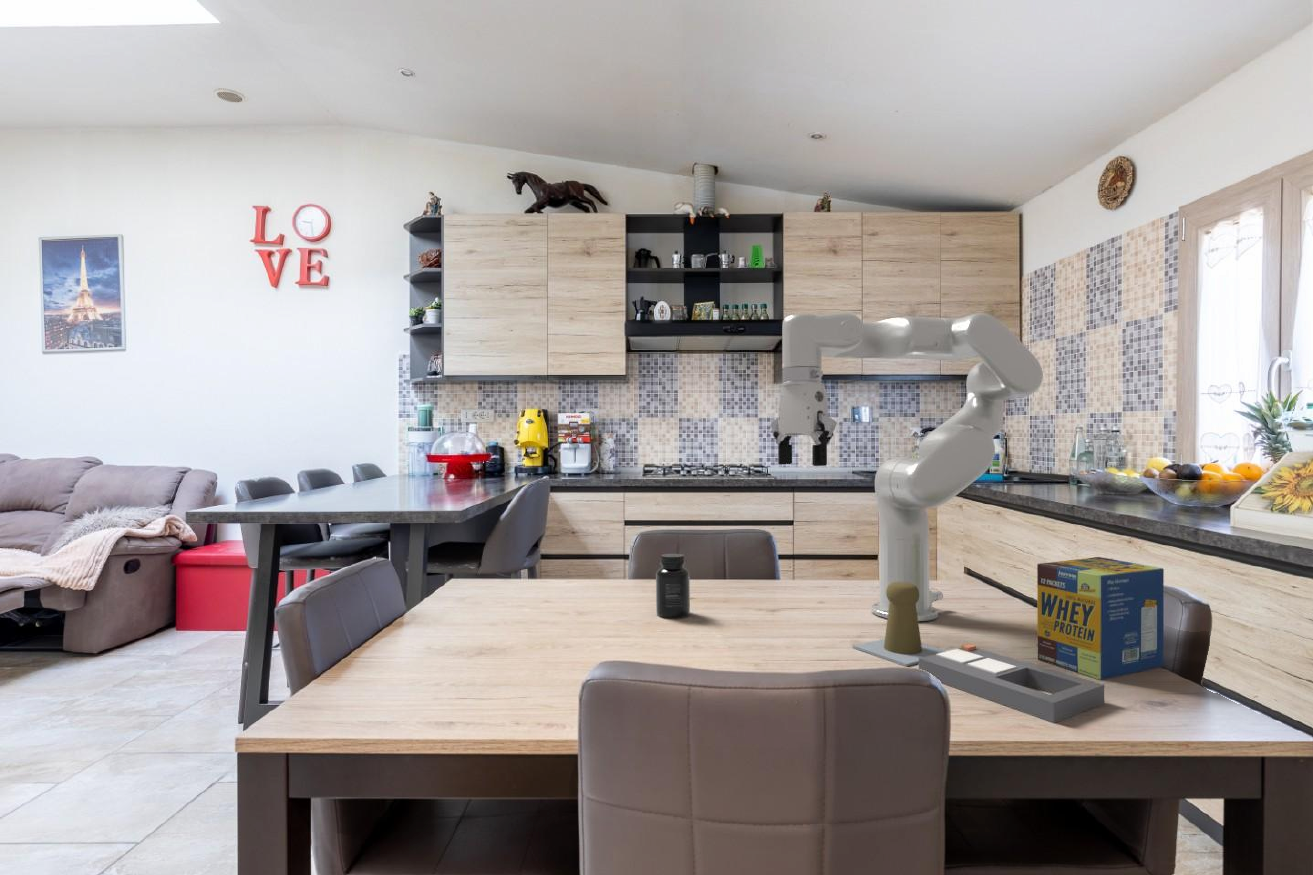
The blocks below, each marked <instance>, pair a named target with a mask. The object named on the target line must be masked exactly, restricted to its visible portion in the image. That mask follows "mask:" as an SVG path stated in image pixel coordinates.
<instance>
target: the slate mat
mask: <svg viewBox="0 0 1313 875" xmlns="http://www.w3.org/2000/svg"><path fill="white" fill-rule="evenodd" d="M884 642H885V638H881V639H878V640H877V639H876V640H872V641H868V642H863V643H858V644H854V645H852V648H853V649H854V650H857V651H860V652H863V653H866V654H869V655H872V656H875V657H878V658H881V659H883V660H887V661H889V662H893V663H895V664H898V663H899V664H898V665H901V666H903V667H906V666H907V667H910V666H914V665H917V664H918V665H919V658H922V657H926V656H930V655H934V654H938V653H942V652H946V651H947V650H945V649H942V648H939V647H936V646H931V645H928V644H925V643H922V642H921V646H922V652H921V653H919V654H911V655H908V654H898V653H893V652H890V651H887V650H886V649H885V648H884Z"/></svg>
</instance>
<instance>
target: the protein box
mask: <svg viewBox="0 0 1313 875" xmlns="http://www.w3.org/2000/svg"><path fill="white" fill-rule="evenodd" d="M1036 566H1037V567H1036V569H1037V570H1036V572H1037V573H1036V574H1037V576H1036V579H1037V582H1036V584H1037V585H1036V588H1037V591H1036V592H1037V593H1036V594H1037V595H1036V596H1037V597H1036V598H1037V599H1036V600H1037V604H1036V605H1037V606H1036V607H1037V608H1036V609H1037V611H1036V612H1037V613H1036V614H1037V616H1036V617H1037V620H1036V622H1037V625H1036V626H1037V627H1036V628H1037V660H1039V661H1042V662H1045V663H1048V662H1049V663H1048V664H1051V663H1052V664H1051V665H1054V664H1055V666H1057V667H1060V668H1064V669H1067V670H1070V671H1073V672H1075V673H1078V674H1082V675H1085V676H1088V677H1091V678H1093V679H1096V680H1101V681H1102V680H1105V679H1110V678H1115V677H1121V676H1125V675H1130V674H1134V673H1139V672H1144V671H1149V670H1153V669H1158V668H1162V667H1164V624H1165V622H1164V618H1165V617H1164V615H1165V614H1164V611H1165V610H1164V601H1165V600H1164V598H1165V597H1164V582H1165V580H1164V574H1165V572H1164V571H1165V569H1164V568H1162V567H1157V566H1152V565H1148V564H1147V565H1146V564H1141V563H1134V562H1129V561H1124V560H1117V559H1112V558H1107V557H1101V556H1095V557H1087V558H1079V559H1070V560H1060V561H1052V562H1044V563H1043V562H1041V563H1037V565H1036Z"/></svg>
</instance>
